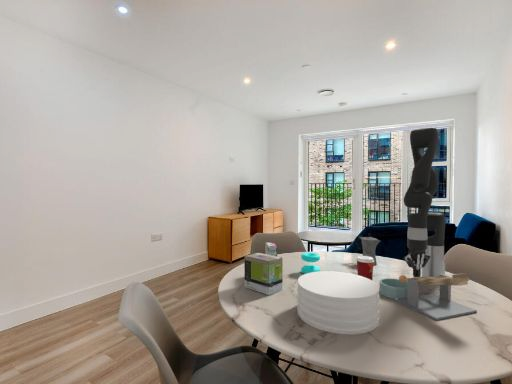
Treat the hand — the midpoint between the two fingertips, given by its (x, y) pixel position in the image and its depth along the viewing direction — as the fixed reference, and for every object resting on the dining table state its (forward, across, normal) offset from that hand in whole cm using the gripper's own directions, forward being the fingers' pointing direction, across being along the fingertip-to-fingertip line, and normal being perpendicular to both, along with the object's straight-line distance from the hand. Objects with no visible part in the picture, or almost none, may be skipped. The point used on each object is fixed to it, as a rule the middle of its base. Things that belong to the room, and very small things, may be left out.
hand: (416, 277), depth 120 cm
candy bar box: (+7, +52, -41) cm, 67 cm away
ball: (-1, +10, +2) cm, 10 cm away
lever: (-2, +5, +12) cm, 14 cm away
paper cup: (+7, +18, -11) cm, 22 cm away
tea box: (+7, +62, -25) cm, 67 cm away
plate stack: (+7, +45, +7) cm, 46 cm away
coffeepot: (+7, -12, -45) cm, 47 cm away
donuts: (+7, +30, -39) cm, 50 cm away
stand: (+6, +6, +13) cm, 16 cm away
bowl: (+6, +10, -2) cm, 12 cm away
